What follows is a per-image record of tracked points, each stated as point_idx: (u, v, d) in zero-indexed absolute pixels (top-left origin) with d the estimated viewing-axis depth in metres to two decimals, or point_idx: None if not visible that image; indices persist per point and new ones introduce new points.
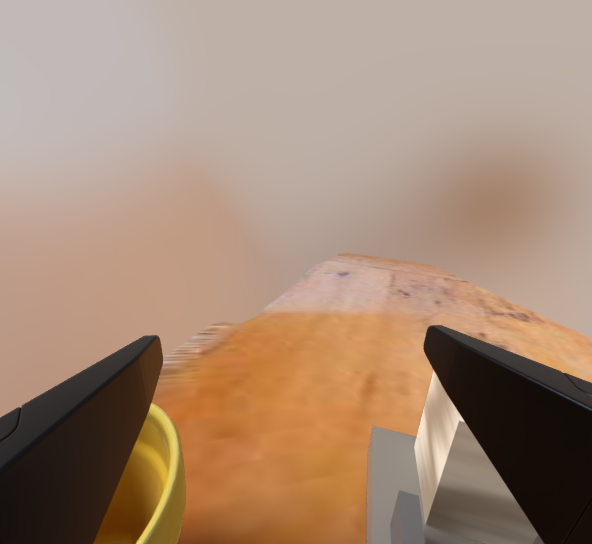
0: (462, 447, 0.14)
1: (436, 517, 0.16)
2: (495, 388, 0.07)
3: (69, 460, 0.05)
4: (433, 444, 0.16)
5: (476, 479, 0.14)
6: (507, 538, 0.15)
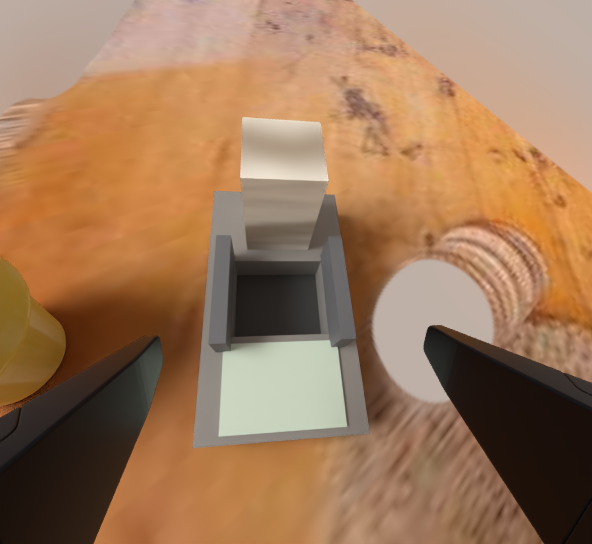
0: (250, 196, 0.17)
1: (251, 243, 0.22)
2: (495, 388, 0.07)
3: (69, 460, 0.05)
4: None
5: (267, 216, 0.19)
6: (295, 244, 0.22)
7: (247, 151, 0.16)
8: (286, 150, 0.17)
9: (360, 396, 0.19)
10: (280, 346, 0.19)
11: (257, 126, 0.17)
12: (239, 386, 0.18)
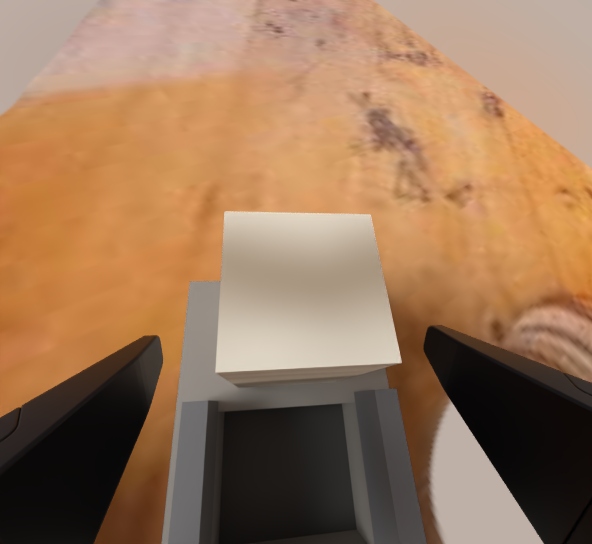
0: (239, 376, 0.08)
1: (245, 386, 0.13)
2: (495, 388, 0.07)
3: (69, 460, 0.05)
4: None
5: (272, 379, 0.10)
6: (316, 382, 0.14)
7: (232, 295, 0.08)
8: (310, 287, 0.08)
9: None
10: None
11: (252, 230, 0.09)
12: None
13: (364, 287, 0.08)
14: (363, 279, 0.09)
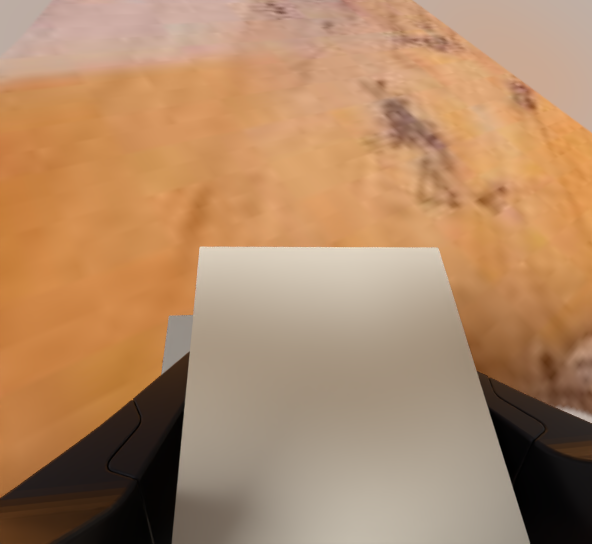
0: None
1: None
2: None
3: None
4: None
5: None
6: None
7: (207, 416, 0.04)
8: (350, 390, 0.05)
9: None
10: None
11: (247, 280, 0.05)
12: None
13: (444, 386, 0.05)
14: (440, 370, 0.05)
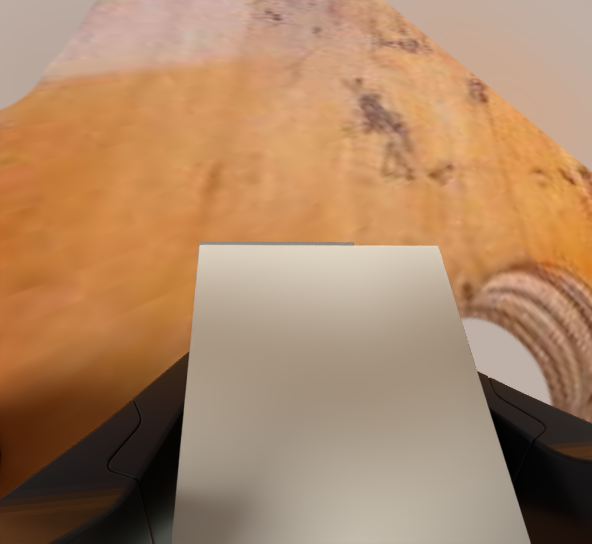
0: None
1: None
2: None
3: None
4: None
5: None
6: None
7: (207, 413, 0.04)
8: (350, 387, 0.05)
9: None
10: None
11: (247, 277, 0.05)
12: None
13: (444, 384, 0.05)
14: (440, 367, 0.05)
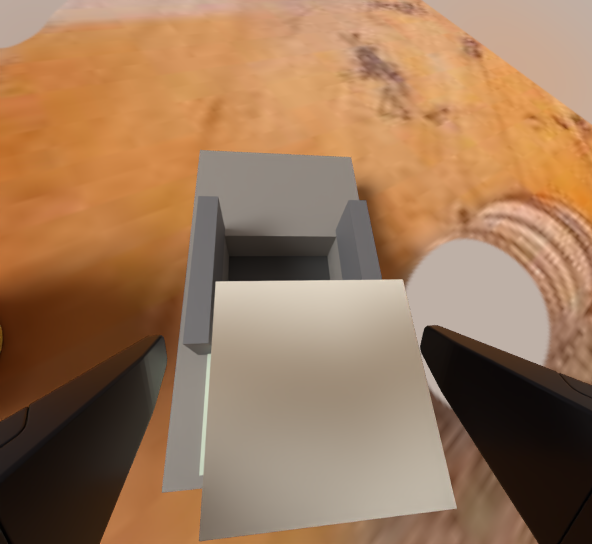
0: None
1: None
2: (491, 389, 0.07)
3: (77, 459, 0.05)
4: None
5: None
6: None
7: (224, 411, 0.06)
8: (329, 392, 0.06)
9: None
10: None
11: (252, 307, 0.07)
12: None
13: (400, 389, 0.06)
14: (398, 377, 0.07)
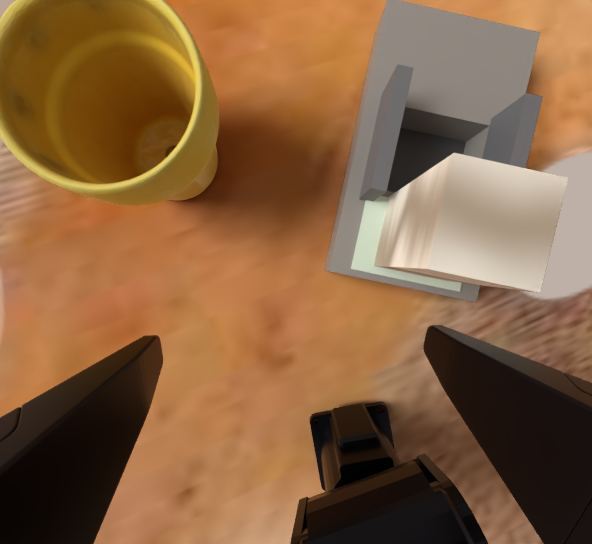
0: (421, 269, 0.13)
1: (383, 267, 0.19)
2: (495, 389, 0.07)
3: (69, 460, 0.05)
4: (401, 233, 0.16)
5: (424, 273, 0.15)
6: (432, 277, 0.19)
7: (446, 223, 0.12)
8: (499, 229, 0.12)
9: None
10: None
11: (471, 173, 0.12)
12: (375, 234, 0.20)
13: (537, 238, 0.12)
14: (539, 232, 0.12)
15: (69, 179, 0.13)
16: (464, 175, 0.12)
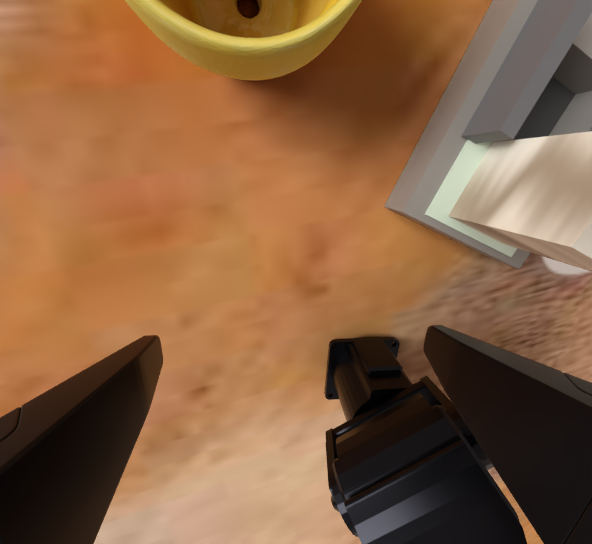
0: (543, 242, 0.13)
1: (461, 220, 0.18)
2: (495, 389, 0.07)
3: (69, 460, 0.05)
4: (517, 193, 0.15)
5: (523, 240, 0.15)
6: (500, 240, 0.19)
7: None
8: None
9: None
10: None
11: None
12: (462, 182, 0.18)
13: None
14: None
15: (169, 9, 0.08)
16: None
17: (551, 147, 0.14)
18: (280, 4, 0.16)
